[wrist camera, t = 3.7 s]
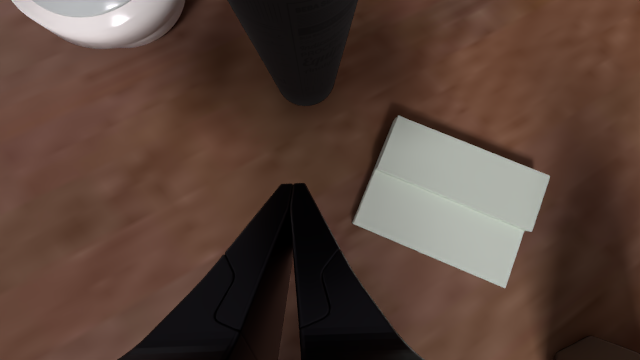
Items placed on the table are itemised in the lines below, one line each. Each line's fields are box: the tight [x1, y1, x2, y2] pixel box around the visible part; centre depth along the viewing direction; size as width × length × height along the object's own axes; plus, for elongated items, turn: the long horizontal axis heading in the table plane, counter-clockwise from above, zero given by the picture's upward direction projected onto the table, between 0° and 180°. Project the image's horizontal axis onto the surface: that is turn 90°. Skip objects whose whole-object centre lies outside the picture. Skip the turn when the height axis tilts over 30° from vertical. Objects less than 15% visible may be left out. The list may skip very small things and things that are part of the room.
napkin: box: [352, 115, 550, 288], centre depth 19 cm, size 12×9×2 cm
